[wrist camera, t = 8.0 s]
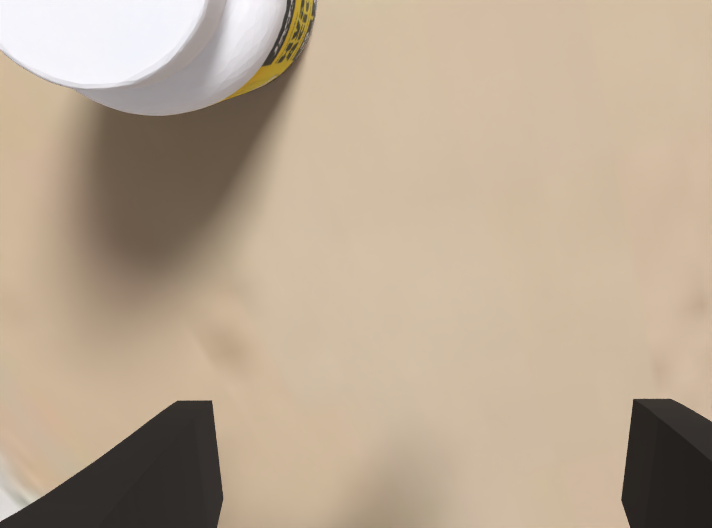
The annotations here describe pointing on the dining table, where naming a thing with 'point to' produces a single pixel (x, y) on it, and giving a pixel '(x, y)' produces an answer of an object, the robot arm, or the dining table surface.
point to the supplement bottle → (156, 48)
